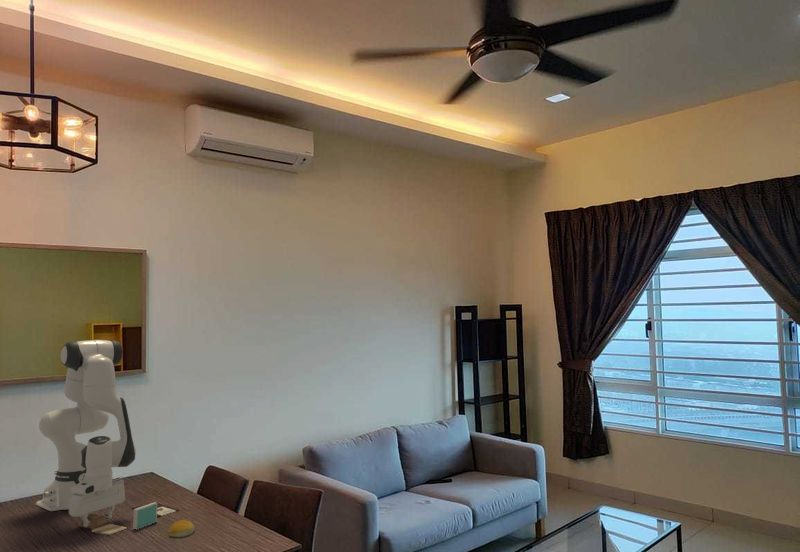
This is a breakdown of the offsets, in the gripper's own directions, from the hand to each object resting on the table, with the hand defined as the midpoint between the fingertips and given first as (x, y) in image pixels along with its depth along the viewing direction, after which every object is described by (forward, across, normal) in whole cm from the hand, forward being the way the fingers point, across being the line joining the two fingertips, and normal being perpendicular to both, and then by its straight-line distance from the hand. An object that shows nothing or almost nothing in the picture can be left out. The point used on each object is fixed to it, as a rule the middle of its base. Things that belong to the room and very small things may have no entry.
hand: (97, 522), depth 210 cm
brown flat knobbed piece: (+2, 0, +2) cm, 3 cm away
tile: (+2, -9, +14) cm, 17 cm away
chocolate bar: (+3, -23, +3) cm, 23 cm away
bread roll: (+3, -9, +32) cm, 33 cm away
